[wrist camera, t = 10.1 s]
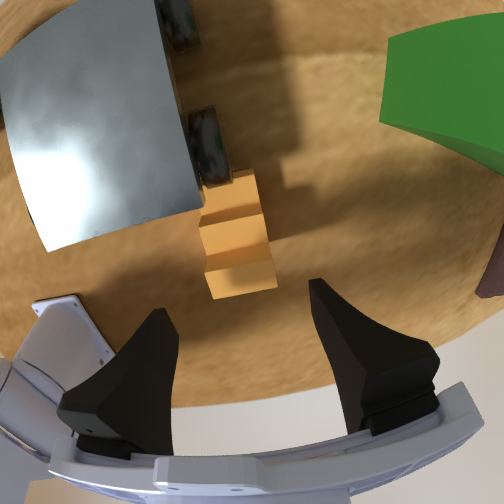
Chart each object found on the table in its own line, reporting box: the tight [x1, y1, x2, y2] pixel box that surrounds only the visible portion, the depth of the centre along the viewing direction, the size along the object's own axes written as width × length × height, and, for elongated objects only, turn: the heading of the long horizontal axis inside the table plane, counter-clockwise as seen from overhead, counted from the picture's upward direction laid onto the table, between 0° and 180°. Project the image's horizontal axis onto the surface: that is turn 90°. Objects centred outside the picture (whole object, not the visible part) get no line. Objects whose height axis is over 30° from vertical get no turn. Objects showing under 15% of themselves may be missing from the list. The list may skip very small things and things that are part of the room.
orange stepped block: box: [198, 169, 278, 299], centre depth 18 cm, size 6×4×6 cm, turn 12°
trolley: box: [0, 0, 233, 252], centre depth 13 cm, size 14×14×6 cm
